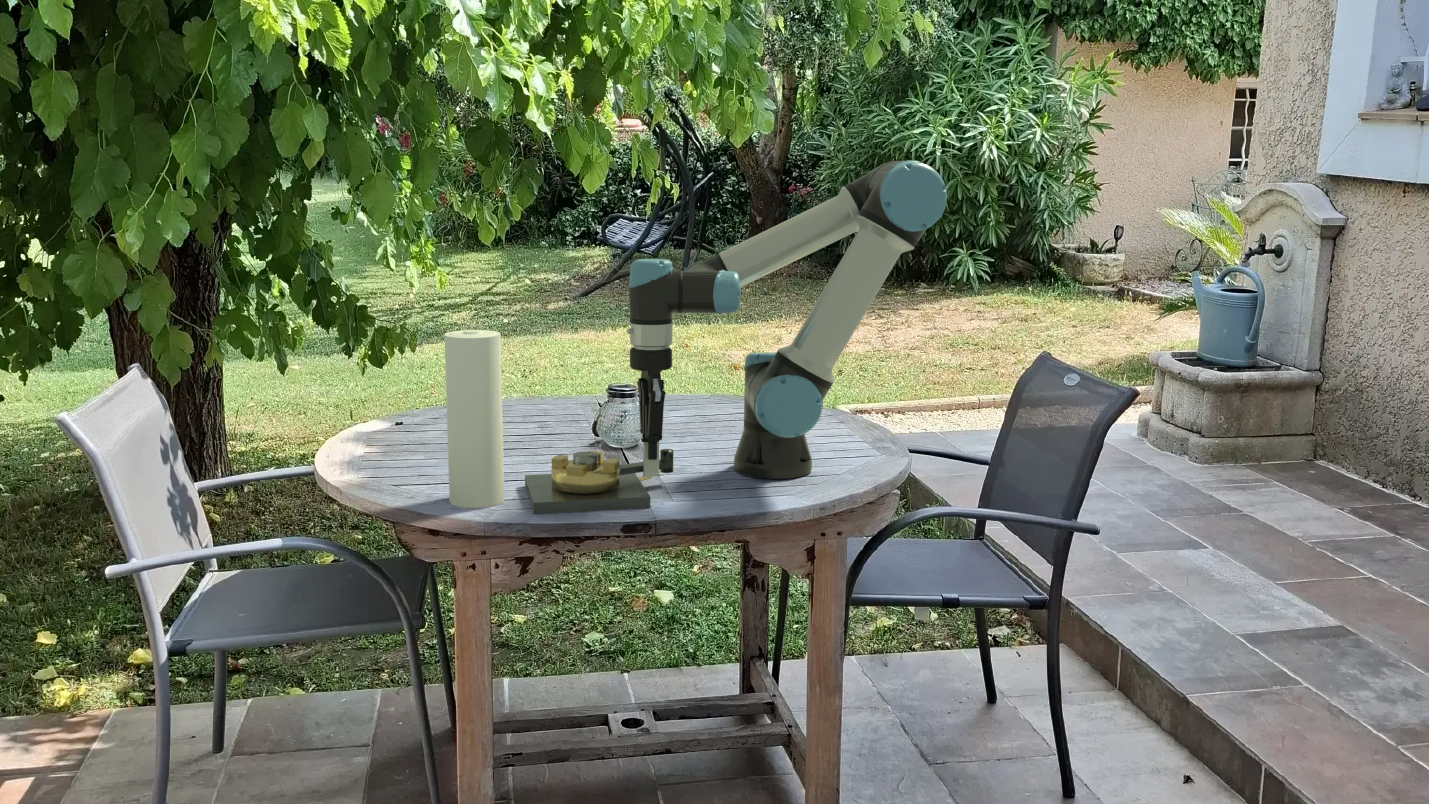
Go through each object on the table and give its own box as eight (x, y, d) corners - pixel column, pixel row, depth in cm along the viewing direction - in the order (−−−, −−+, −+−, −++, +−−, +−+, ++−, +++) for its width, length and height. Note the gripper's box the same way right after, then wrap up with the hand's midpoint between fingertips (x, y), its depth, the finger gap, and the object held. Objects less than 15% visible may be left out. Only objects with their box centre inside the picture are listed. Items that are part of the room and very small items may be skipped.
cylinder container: (507, 493, 219) (504, 327, 213) (500, 508, 210) (496, 335, 204) (454, 492, 219) (449, 326, 213) (445, 508, 209) (439, 334, 203)
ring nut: (656, 464, 231) (656, 436, 230) (688, 479, 221) (689, 450, 220) (540, 480, 219) (540, 451, 218) (569, 496, 209) (569, 466, 208)
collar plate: (650, 475, 232) (651, 465, 232) (672, 506, 212) (672, 495, 212) (523, 481, 227) (523, 471, 226) (533, 514, 207) (533, 502, 206)
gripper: (623, 342, 222) (624, 468, 227) (637, 352, 210) (637, 485, 214) (664, 341, 224) (663, 466, 228) (679, 351, 212) (679, 483, 216)
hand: (651, 475), depth 221 cm, fingers closed
